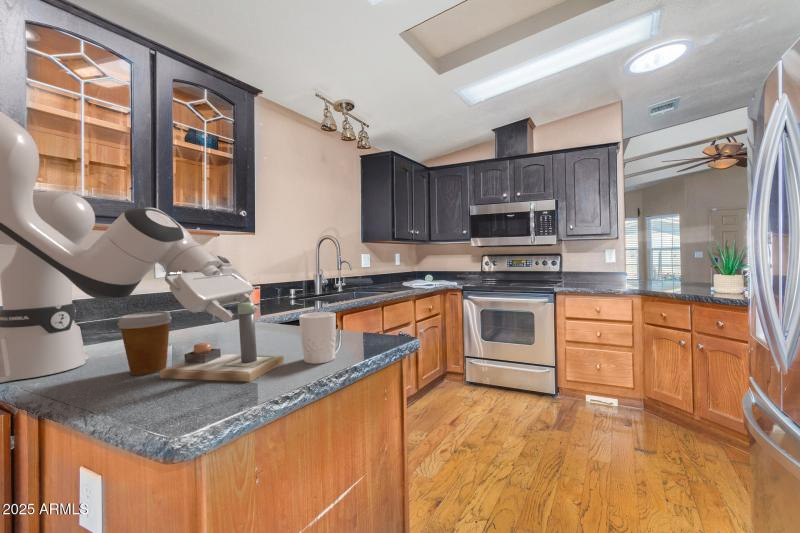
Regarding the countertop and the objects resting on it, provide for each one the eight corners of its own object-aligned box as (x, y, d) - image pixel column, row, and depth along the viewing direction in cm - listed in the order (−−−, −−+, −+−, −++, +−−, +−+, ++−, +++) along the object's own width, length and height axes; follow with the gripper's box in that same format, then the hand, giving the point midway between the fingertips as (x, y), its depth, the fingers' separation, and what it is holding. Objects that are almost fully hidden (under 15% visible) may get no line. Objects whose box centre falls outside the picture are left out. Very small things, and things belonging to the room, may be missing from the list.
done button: (190, 355, 78) (190, 346, 78) (201, 351, 81) (201, 342, 81) (203, 356, 78) (203, 346, 77) (214, 351, 81) (214, 342, 81)
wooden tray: (160, 378, 74) (159, 360, 73) (204, 360, 85) (203, 345, 85) (250, 381, 69) (249, 362, 69) (283, 362, 81) (283, 346, 81)
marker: (238, 363, 75) (234, 304, 75) (244, 359, 79) (241, 302, 78) (254, 362, 75) (250, 304, 75) (259, 358, 79) (256, 301, 78)
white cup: (329, 365, 78) (327, 317, 77) (294, 364, 79) (292, 317, 79) (342, 355, 85) (340, 311, 85) (310, 354, 87) (308, 311, 87)
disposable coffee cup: (185, 365, 82) (182, 311, 82) (145, 379, 73) (141, 318, 73) (151, 363, 85) (148, 310, 84) (108, 377, 76) (104, 318, 75)
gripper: (170, 260, 67) (224, 313, 67) (232, 258, 88) (274, 298, 87) (149, 285, 68) (202, 338, 67) (215, 277, 88) (257, 317, 88)
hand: (243, 315), depth 77 cm, fingers open, 8 cm apart
